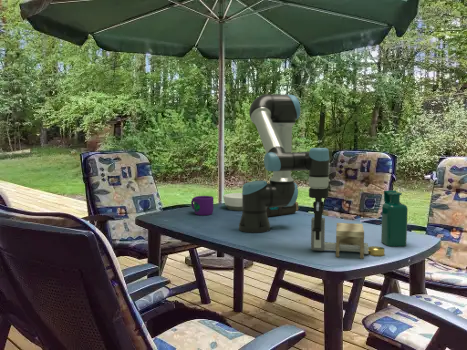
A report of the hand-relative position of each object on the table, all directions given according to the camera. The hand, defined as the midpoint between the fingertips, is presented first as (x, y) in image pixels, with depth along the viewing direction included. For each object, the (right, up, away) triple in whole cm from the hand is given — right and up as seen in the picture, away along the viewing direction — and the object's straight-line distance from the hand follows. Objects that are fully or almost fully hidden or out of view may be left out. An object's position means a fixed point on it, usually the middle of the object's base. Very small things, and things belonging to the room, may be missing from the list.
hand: (317, 245), depth 172 cm
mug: (-53, +5, +82) cm, 98 cm away
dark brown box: (-9, +5, +74) cm, 75 cm away
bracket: (+8, -1, -2) cm, 8 cm away
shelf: (+12, -2, -3) cm, 12 cm away
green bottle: (+34, -1, +10) cm, 35 cm away
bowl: (-29, +7, +98) cm, 103 cm away
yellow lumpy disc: (+21, -3, -5) cm, 22 cm away
